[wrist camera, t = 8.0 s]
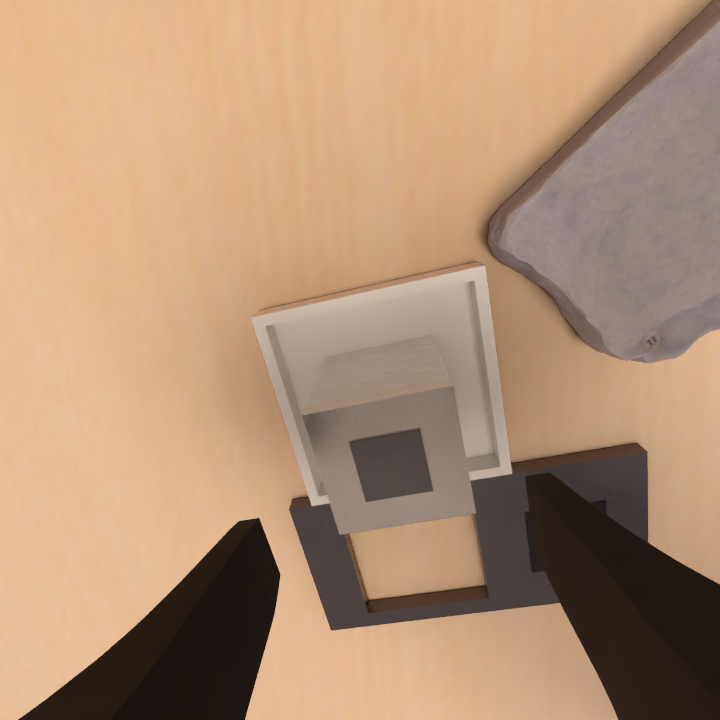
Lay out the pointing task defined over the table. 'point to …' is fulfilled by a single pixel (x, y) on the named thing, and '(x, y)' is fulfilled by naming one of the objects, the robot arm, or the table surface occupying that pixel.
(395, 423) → the cube with square inset
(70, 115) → the table surface
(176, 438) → the table surface
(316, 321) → the tray
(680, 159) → the stone block
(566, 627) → the table surface
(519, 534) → the plate with square cutout
